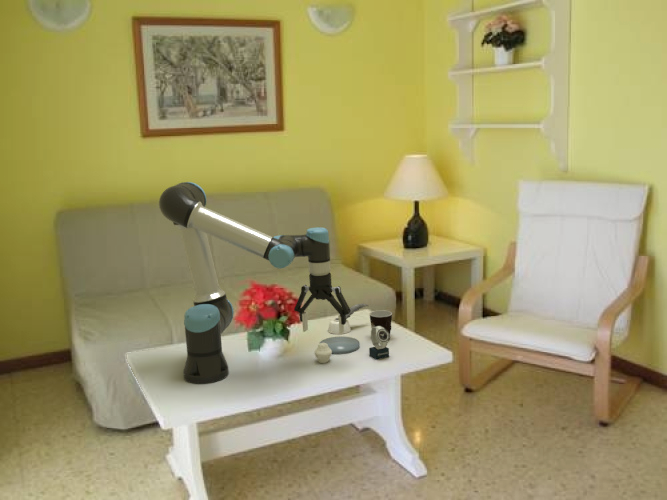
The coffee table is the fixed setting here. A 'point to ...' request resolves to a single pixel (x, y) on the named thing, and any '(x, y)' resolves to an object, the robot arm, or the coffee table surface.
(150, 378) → the coffee table surface
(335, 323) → the inkwell
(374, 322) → the coffee mug
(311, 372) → the coffee table surface
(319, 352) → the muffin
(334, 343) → the plate
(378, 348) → the watch
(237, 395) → the coffee table surface
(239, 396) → the coffee table surface
